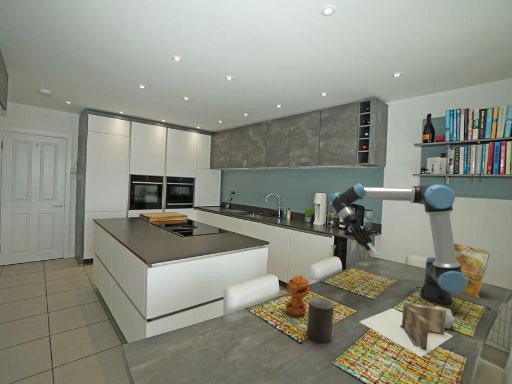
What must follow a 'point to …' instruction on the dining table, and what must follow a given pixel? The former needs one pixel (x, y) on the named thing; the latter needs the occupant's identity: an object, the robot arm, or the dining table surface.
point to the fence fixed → (429, 316)
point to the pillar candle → (320, 320)
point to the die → (448, 318)
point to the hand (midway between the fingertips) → (374, 255)
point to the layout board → (402, 332)
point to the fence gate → (416, 326)
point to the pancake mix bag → (472, 267)
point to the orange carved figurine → (297, 295)
